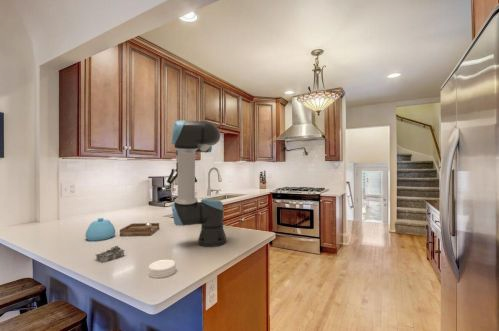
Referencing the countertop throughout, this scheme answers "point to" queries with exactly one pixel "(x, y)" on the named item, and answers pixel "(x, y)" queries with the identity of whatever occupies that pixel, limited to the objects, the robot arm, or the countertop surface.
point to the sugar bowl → (100, 230)
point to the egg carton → (110, 254)
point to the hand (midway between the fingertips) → (182, 192)
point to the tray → (139, 229)
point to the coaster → (162, 268)
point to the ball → (148, 225)
